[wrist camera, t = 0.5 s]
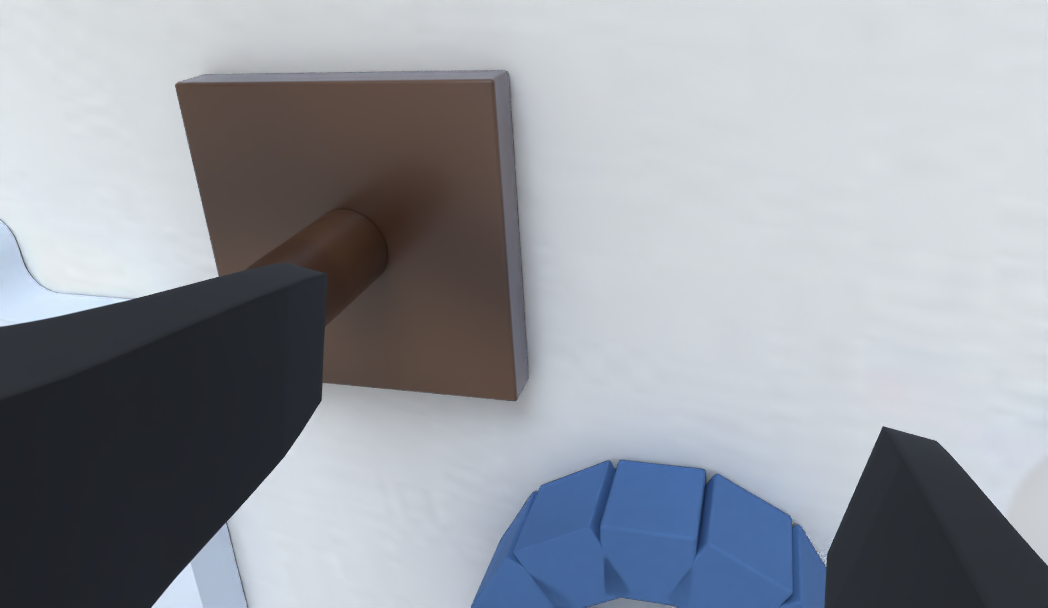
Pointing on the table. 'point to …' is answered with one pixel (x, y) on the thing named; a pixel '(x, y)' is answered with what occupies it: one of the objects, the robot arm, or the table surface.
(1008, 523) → the robot arm
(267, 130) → the peg stand
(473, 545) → the table surface
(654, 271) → the table surface
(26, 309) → the mounting plate
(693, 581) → the ring
